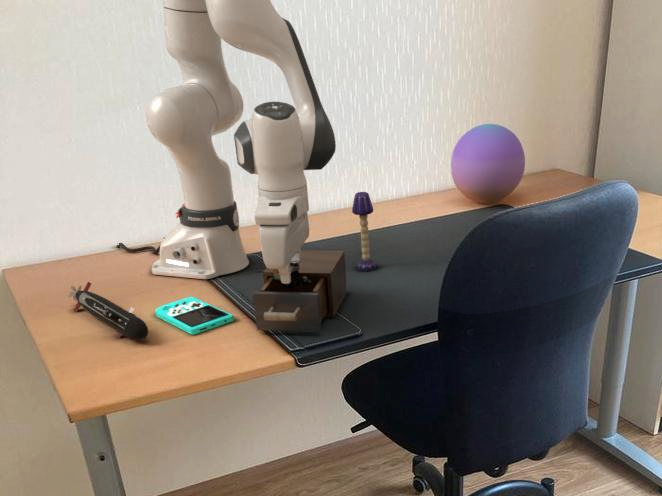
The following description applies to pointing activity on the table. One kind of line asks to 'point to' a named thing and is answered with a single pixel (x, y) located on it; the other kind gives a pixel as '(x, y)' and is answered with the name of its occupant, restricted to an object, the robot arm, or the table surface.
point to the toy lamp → (364, 228)
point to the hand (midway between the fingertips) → (291, 276)
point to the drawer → (291, 305)
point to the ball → (487, 163)
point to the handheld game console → (193, 315)
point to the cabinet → (323, 274)
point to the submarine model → (110, 313)
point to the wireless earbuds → (295, 278)
